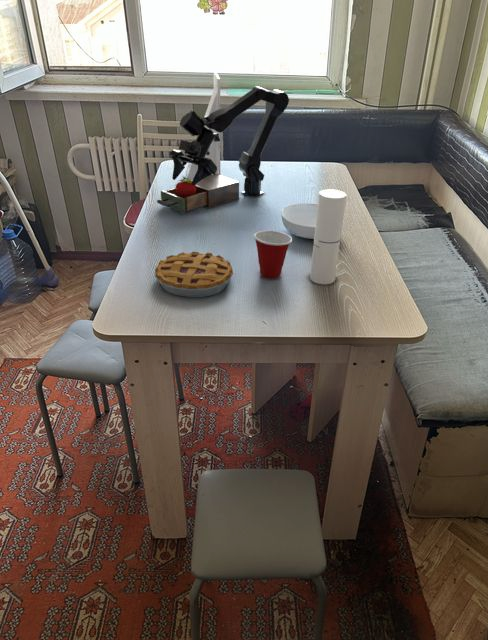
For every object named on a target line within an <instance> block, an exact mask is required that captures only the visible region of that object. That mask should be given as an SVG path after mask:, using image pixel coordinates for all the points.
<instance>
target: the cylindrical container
mask: <svg viewBox="0 0 488 640" xmlns="http://www.w3.org/2000/svg"><path fill="white" fill-rule="evenodd" d="M346 201H347V193H346V192H345V191H342V190H339V189H335V188H334V189H333V188H328V189H322V190H319V193H318V201H317V204H318V210H317V219H316V228H315V237H314V239H313V247H312V248H313V249H312V257H311V265H310V273H309V274H310V275H309V279H310V280H311V282H313V283H315V284H319V285H330V284H333V283H334V282H335V281H336V273H337V266H338V259H339V252H340V244H341V236H342V231H343V222H344V217H345V209H346Z"/></svg>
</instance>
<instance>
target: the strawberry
mask: <svg viewBox="0 0 488 640" xmlns="http://www.w3.org/2000/svg"><path fill="white" fill-rule="evenodd" d="M186 175H187V174H186ZM191 183H192V180H189V179H188V178H187V179H186V178H185V179H179V180H178V182H177V183H176V184H175V188H176V190H177V193H178V194H179V195H180V197H182V198H184V199H185V197H189V196H192V195H194V194H195V192H196V185H194V186H193V185H192V184H191Z"/></svg>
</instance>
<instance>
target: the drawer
mask: <svg viewBox="0 0 488 640" xmlns="http://www.w3.org/2000/svg"><path fill="white" fill-rule="evenodd" d="M156 203H157V204H159V205H161V206H164V207H166V208H169V209H171V210H173V211H176V212H179V213H181V214H185V213H186V212H189V211H192V210H194V209H198V208H201V207H204V206H205V205H208V200H207V191H204V190H201V189H199V188H196V192H195V194H194V195H192V196H189V197H185V199H184V198H182V197H180V195H179V194H178V193H177V190H176V187H173V188H169V189H166V190H160V199H157V200H156Z"/></svg>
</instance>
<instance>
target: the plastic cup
mask: <svg viewBox="0 0 488 640" xmlns="http://www.w3.org/2000/svg"><path fill="white" fill-rule="evenodd" d="M253 238H254V239H255V243H256V250H257V260H258V265H259V272H260V276H261V277H263V278H265V279H268V280H276V279H278V278H280V276H281V275H282V270H283V267H284V264H285V260H286V255H287V252H288V249H289V247H290V244H291V243H292V241H293V237H292V236H291V235H289V234H287V233H285V232H282V231H276V230H260V231H257V232H255V233H254V235H253Z"/></svg>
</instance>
